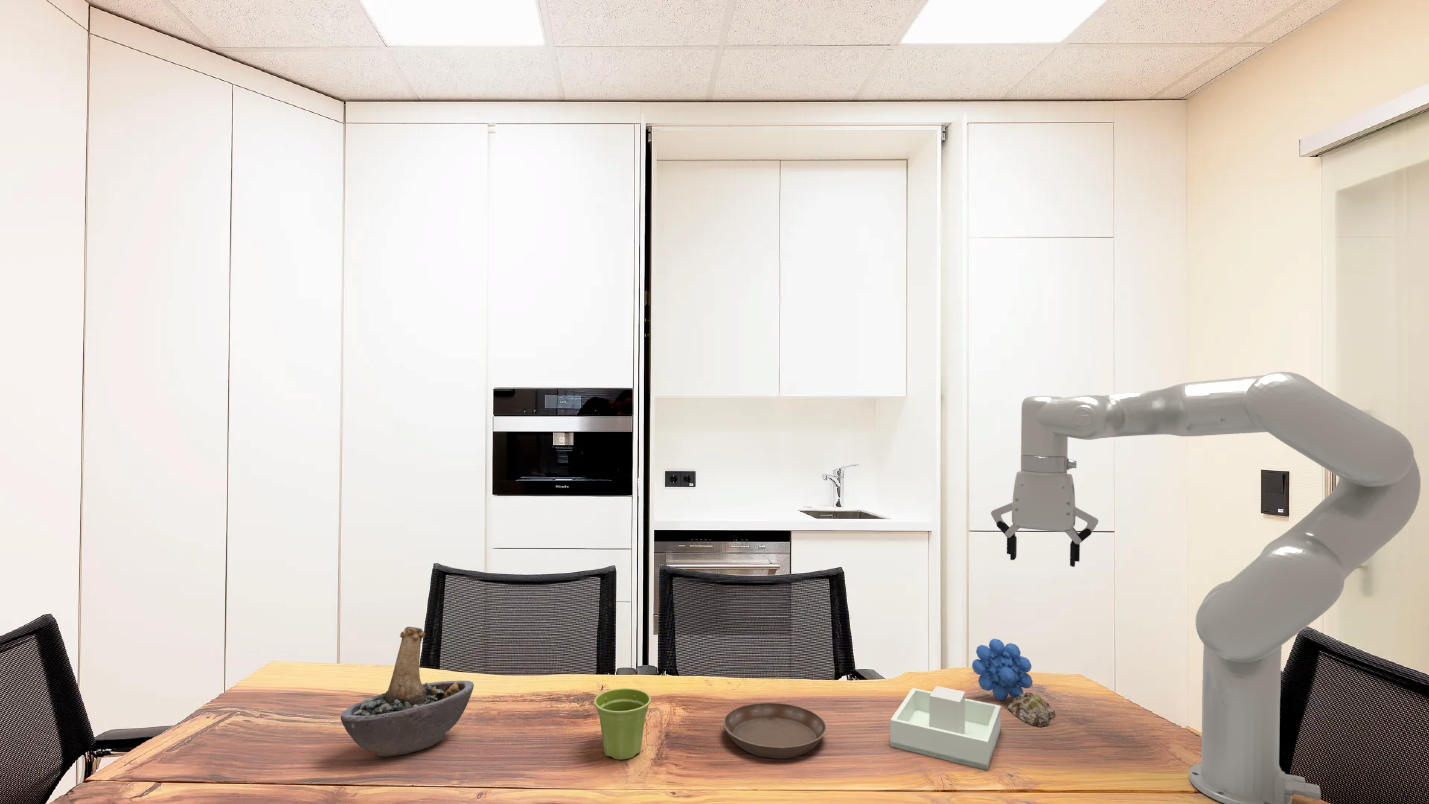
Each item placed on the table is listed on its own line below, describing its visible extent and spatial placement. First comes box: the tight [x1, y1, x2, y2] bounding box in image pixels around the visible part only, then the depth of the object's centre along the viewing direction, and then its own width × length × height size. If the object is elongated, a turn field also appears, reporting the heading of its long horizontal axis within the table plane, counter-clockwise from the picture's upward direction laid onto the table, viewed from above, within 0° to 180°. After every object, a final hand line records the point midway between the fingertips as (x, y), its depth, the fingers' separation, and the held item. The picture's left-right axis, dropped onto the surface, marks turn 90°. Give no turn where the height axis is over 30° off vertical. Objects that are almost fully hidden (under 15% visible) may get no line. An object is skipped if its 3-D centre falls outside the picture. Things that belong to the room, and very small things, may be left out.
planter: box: [340, 626, 475, 758], centre depth 119 cm, size 15×17×20 cm
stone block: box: [929, 685, 966, 734], centre depth 125 cm, size 5×5×7 cm
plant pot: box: [593, 687, 652, 760], centre depth 119 cm, size 9×9×9 cm
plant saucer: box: [723, 702, 827, 759], centre depth 124 cm, size 18×18×3 cm
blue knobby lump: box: [971, 638, 1034, 701], centre depth 140 cm, size 12×7×12 cm, turn 87°
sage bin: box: [889, 687, 1002, 771], centre depth 125 cm, size 16×16×4 cm
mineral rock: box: [1007, 691, 1056, 728], centre depth 135 cm, size 11×4×8 cm
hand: (1042, 561), depth 128 cm, fingers open, 9 cm apart
